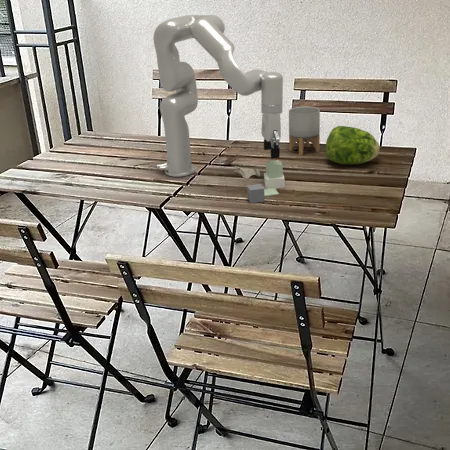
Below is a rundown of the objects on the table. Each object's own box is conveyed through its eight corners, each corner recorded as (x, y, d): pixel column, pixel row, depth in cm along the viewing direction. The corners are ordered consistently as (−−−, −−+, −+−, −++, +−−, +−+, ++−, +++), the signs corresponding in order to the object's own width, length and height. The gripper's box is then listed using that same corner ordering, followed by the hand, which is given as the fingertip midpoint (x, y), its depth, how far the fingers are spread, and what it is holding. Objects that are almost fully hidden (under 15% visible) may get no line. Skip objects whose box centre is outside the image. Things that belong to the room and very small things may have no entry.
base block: (265, 189, 233) (265, 179, 231) (264, 183, 240) (263, 173, 238) (284, 188, 233) (284, 178, 232) (282, 181, 240) (282, 172, 238)
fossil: (247, 181, 243) (247, 172, 241) (233, 173, 251) (232, 165, 250) (262, 177, 246) (262, 168, 244) (247, 169, 254) (247, 161, 253)
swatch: (262, 196, 226) (262, 195, 226) (258, 190, 232) (258, 189, 231) (278, 194, 227) (278, 193, 227) (274, 188, 232) (274, 187, 232)
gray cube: (250, 203, 221) (250, 190, 219) (247, 198, 226) (247, 185, 224) (264, 201, 222) (264, 188, 220) (261, 196, 227) (260, 183, 225)
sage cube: (269, 178, 232) (269, 165, 230) (266, 174, 237) (265, 161, 235) (282, 176, 233) (282, 164, 231) (278, 172, 237) (278, 160, 235)
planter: (285, 154, 268) (285, 113, 260) (293, 145, 279) (293, 106, 271) (315, 156, 264) (315, 114, 256) (322, 147, 274) (322, 106, 267)
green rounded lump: (377, 176, 246) (390, 138, 242) (326, 162, 244) (338, 124, 240) (366, 168, 262) (378, 132, 258) (318, 155, 259) (330, 119, 255)
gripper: (255, 102, 231) (256, 147, 239) (267, 115, 216) (267, 162, 223) (275, 101, 232) (275, 145, 240) (288, 113, 217) (288, 160, 224)
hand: (271, 153), depth 232 cm, fingers open, 9 cm apart
